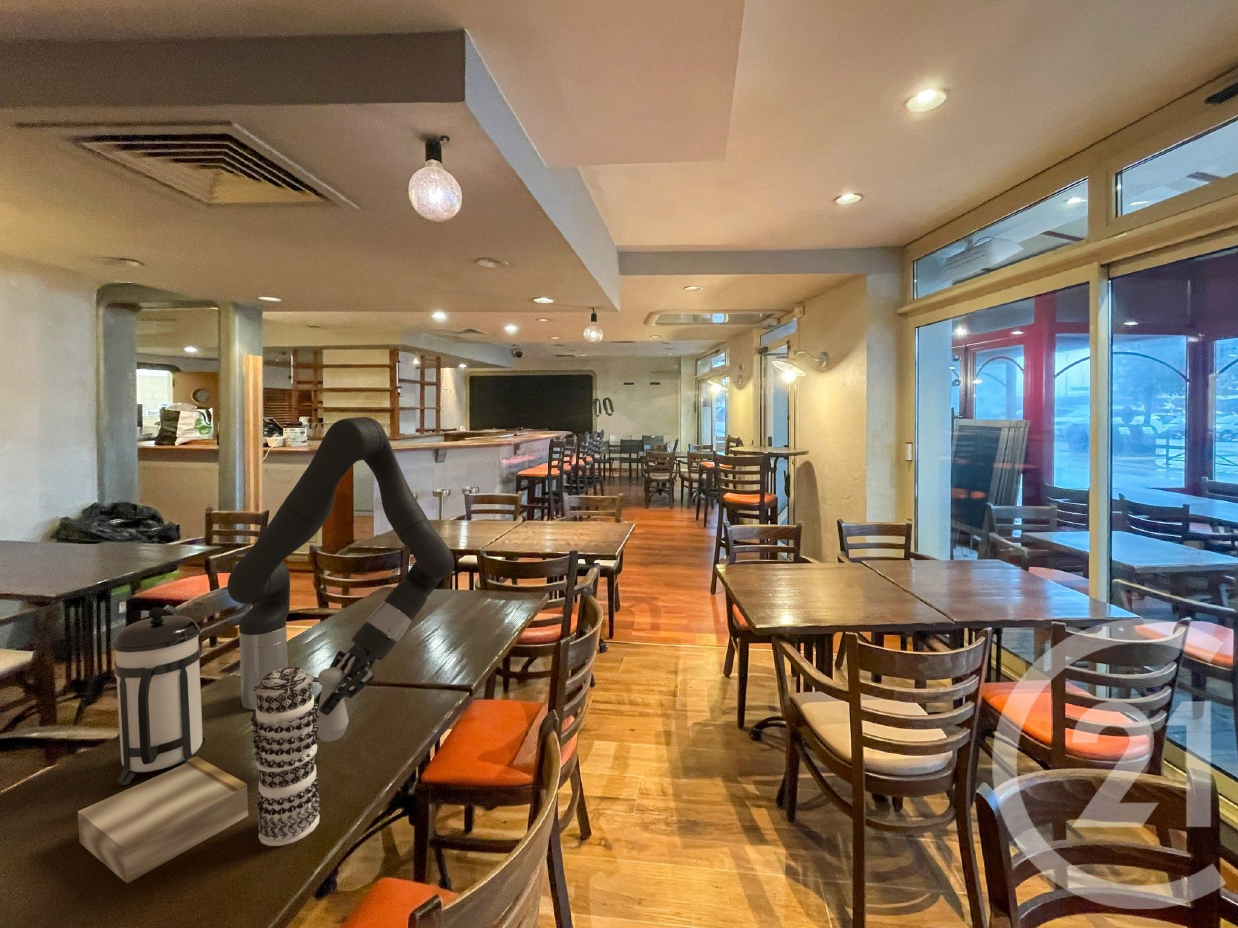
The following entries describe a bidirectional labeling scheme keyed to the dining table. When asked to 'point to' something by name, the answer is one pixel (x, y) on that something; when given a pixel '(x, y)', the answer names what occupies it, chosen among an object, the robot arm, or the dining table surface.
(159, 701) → the coffee press
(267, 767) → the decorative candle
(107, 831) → the wood block
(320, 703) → the salt shaker
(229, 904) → the dining table surface
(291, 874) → the dining table surface
